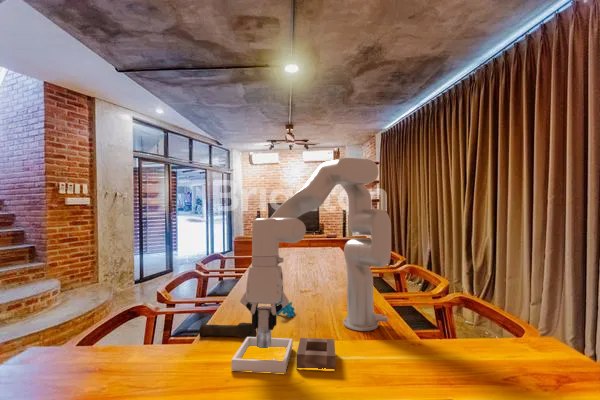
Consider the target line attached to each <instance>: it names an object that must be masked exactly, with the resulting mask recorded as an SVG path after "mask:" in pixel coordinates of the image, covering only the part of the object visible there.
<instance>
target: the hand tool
mask: <svg viewBox="0 0 600 400" xmlns="http://www.w3.org/2000/svg"><path fill="white" fill-rule="evenodd" d="M198 332H199V333H198V335H199V337H207V336H208V337H210V336H213V337H217V336H219V337H237V338H238V339H246V338H247V337H257V329H254V325H252V322H239V323H238V324H236V325H235V324H230V325H229V324H226V325H225V324H206V323H202V324H200V326H199V330H198Z"/></svg>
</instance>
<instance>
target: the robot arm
mask: <svg viewBox="0 0 600 400" xmlns="http://www.w3.org/2000/svg"><path fill="white" fill-rule="evenodd" d="M378 176H379V168H378V165H377V163H376V162H375V161H373V160H372V159H369V158H358V157H357V158H356V157H355V158H354V157H340V158H335V159H332V160H326V161H324V162H323V163H321V164H319V166H318V167H316V170H315V171H314V172H313V173H312V175H311V176H310V178H309V179H307V181H306V182H305V184H304V185H303V186H302V188H301V189H300V190H298V191H296V192H295V193H294V194H293V195H292V196H290V197H289V198H287V199H286V200H285V201H284V202H282V204H280V205H279V207H277V209H276V210H275V211H274V212H273V214H272V215H271V216H270V217H267V218H266V217H257V218H255V219H253V221H252V228H251V230H252V232H251V233H252V235H251V236H252V237H251V249H252V250H251V265H250V266H249V269H248V272H247V278H246V279H247V280H246V287H245V293H244V294H243V295H242V296H241V299H240V300H239V303H241V305H243V306H244V307H246V309H247V310H248V311H249V312H250V314H251V323H252V325H254V329H256V330H257V308H258V307H259V304H263V305H264V304H266V305H268V304H270V307H271V310H272V312H271V315H270V330H271V331H273V330H274V328H275V327H276V326H277V323H278V322H277V321H278V320H277V318H278V317H277V316H278V315H277V313H278V312H279V311H280V310H281V309H282V308H283V307H285V306H286V305H288V304H289V303H290V300H289V298H288V297H287V295H286V294H285V291H284V278H283V277H284V275H283V270H282V265H280V264H281V263H284V257H280V254H279V253H280V252H279V248H280V246H279V244H280V243H287V244H288V243H289V244H296V243H299V242H301V241H302V240H303V239H304V238H305V236H306V233H307V229H306V228H307V227H306V224H305V223H304V222H303V221H302V220H300V219H299V217H301V216H302V215H304V214H306V213H308V212H311V211H314V210H315V209H317V208H319V207H321V206H322V205H323V204H324V202H325V201H326V200H327V198H328V197H329V195H330V194H331V193H332V192H333V191H332V190H333V189H334V188H335V187H336V186H337V185H341V187H342V188H343V190H344V191H345V193H346V194H347V201H348V215H347V216H348V229H349V232H351V233H352V234H353V235H360V236H370V237H371V238H359V237H355V238H350V239H349V240H347V241H346V243H345V244H344V248H343V254H344V255H343V256H344V260H345V265H346V298H347V299H346V307H347V309H346V310H347V313H346V314H347V317H345V318H344V319H342V322H343V323H342V325H344V327H346V328H347V329H350V330H353V331H357V332H358V331H360V332H369V331H374V330H377V328H378V327H379V322H386V323H387V322H388V316H387V315H383V314H381V313H379V314H376V313H375V311H374V276H373V272H372V269H371V267H373V268H374V267H375V268H385V267H386V266H387V265H388V264H389V263H390V261H391V256H392V222H391V219H390V215H389V214H388V212H386V210H384V209H379V208H372V196H371V192H370V191H369V189H368V188H367V186H366V184H367V185H368V184H372V183H374V182H376V180H377V179H378ZM281 299H282V301H283V302H282V303H280V302H281ZM278 303H280V304H279V305H277V304H278Z"/></svg>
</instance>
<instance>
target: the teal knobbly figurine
mask: <svg viewBox="0 0 600 400" xmlns="http://www.w3.org/2000/svg"><path fill="white" fill-rule="evenodd" d="M282 302H283V301H282V299H281V302H280V303H282ZM280 303H278V304H277V306H278V305H279V304H280ZM281 313H282V314H283V315H286V317H287V318H290V317H291V318H293V317H294V316H295V314H296V312H295V308H294V306H293V302H292V301H289V304H288V305H286V306H285V307H283V308H282V309H281V310H280V311H279V312H278V313H277V316H279V315H280V314H281Z"/></svg>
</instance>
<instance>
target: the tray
mask: <svg viewBox="0 0 600 400" xmlns="http://www.w3.org/2000/svg"><path fill="white" fill-rule="evenodd" d="M293 340H294V339H293V338H288V337H287V338H283V337H282V338H281V337H271V346H270V347H285V348H286V347H287V349H286V353H285V356H284V359H283V361H278V360H275V359H274V358H273V360H259V359H241V358H242V357H243V355H244V353H245V352H246V350H247V348H248V347H249V346H257V336H256V337H247V338H244V340H243V342H242V343H241V345H240V347H239V348H238V349H237V351H236V352H235V353H234V355H233V357H232V358H231V363H230V365H231V370H233V371H252V372H271V373H284V374H286V375H287V371H286V369H287V370H288V368H287V365H288V366H289V364H288V362H289V363H290V360H289V358H290V359H291V357H290V354H291V355H292V353H291V350H292V351H293V349H292V347H293Z"/></svg>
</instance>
